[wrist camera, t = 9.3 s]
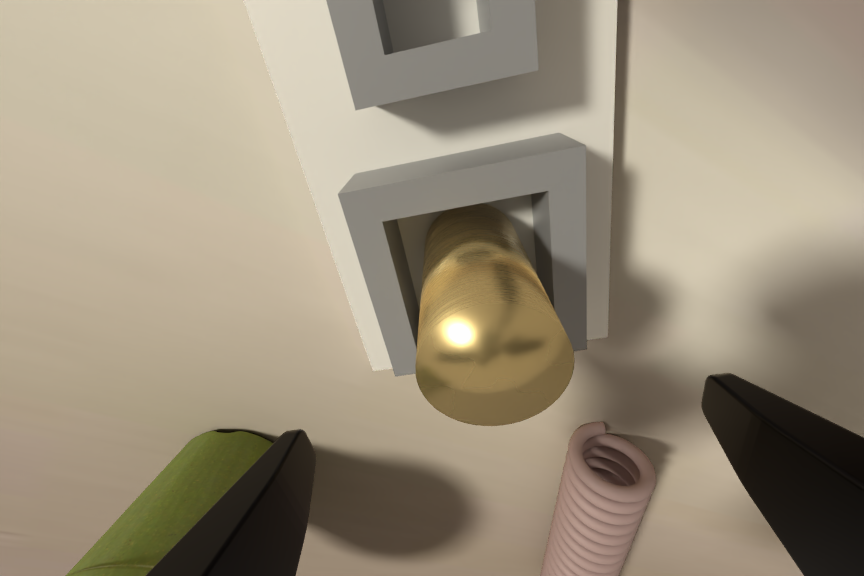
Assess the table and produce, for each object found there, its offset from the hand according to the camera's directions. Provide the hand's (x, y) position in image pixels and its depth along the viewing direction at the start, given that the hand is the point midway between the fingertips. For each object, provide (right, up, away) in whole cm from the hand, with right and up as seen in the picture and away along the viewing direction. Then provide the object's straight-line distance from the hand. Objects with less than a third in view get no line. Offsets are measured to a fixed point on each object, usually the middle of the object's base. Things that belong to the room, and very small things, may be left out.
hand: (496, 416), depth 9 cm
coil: (+9, -13, +19) cm, 25 cm away
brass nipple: (0, +5, +8) cm, 9 cm away
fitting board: (-1, +9, +7) cm, 11 cm away
